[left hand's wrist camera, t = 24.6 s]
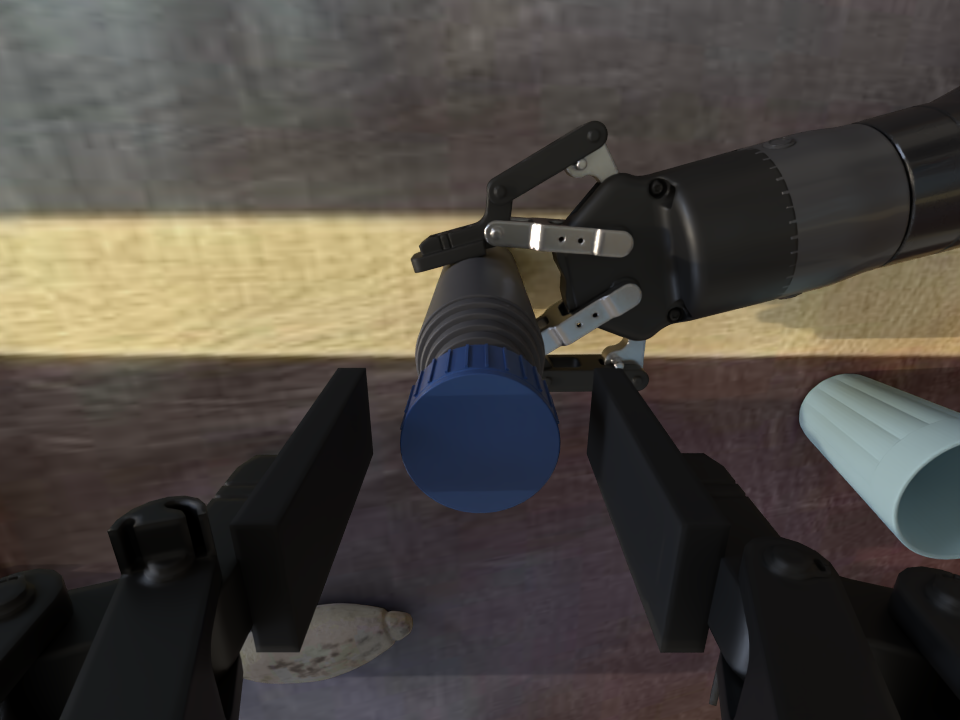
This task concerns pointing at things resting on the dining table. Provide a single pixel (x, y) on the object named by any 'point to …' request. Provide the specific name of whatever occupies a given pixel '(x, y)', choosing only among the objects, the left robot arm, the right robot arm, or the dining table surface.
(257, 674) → the decorative stone
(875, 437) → the cup
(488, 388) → the cap
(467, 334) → the bottle
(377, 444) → the dining table surface
